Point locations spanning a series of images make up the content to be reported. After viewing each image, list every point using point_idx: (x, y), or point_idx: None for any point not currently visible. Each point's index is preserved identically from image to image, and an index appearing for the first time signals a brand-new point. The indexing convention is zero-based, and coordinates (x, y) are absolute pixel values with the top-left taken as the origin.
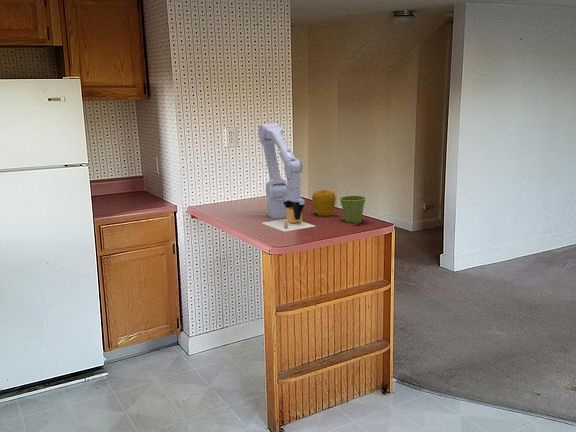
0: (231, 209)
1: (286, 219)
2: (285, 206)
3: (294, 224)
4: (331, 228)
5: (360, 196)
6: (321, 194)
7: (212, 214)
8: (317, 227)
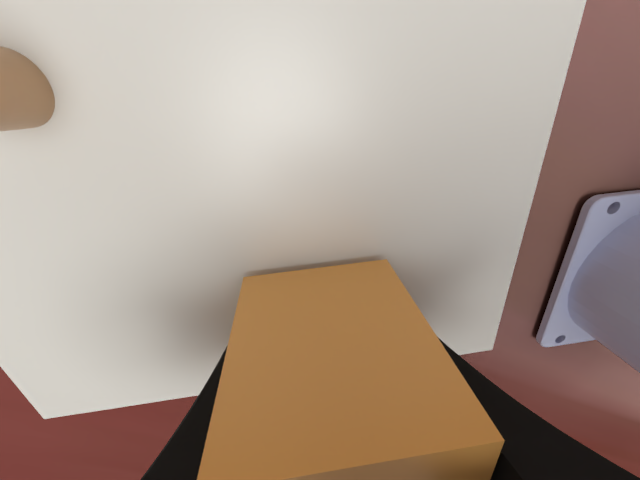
0: None
1: None
2: (599, 462)
3: (208, 279)
4: (28, 472)
5: None
6: None
7: None
8: (100, 412)
